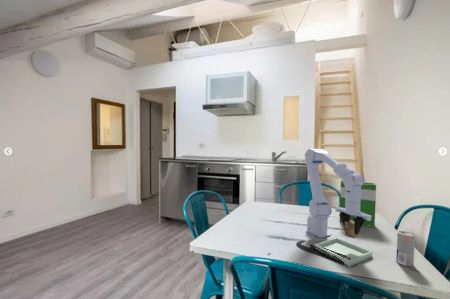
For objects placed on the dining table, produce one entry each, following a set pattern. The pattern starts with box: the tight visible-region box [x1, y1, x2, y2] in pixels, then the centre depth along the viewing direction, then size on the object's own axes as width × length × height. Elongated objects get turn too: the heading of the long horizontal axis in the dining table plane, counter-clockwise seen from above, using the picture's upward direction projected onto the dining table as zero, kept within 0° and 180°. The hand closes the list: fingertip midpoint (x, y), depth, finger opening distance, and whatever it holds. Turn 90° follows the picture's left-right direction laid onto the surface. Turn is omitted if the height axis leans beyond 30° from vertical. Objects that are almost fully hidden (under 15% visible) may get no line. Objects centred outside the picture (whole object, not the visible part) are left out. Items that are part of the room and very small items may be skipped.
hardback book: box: [339, 179, 377, 227], centre depth 135 cm, size 18×7×24 cm, turn 63°
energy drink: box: [396, 230, 416, 267], centre depth 89 cm, size 5×5×12 cm
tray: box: [313, 237, 373, 268], centre depth 97 cm, size 16×16×2 cm
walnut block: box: [343, 220, 360, 239], centre depth 98 cm, size 4×4×6 cm
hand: (351, 232), depth 98 cm, fingers closed on walnut block, 4 cm apart
